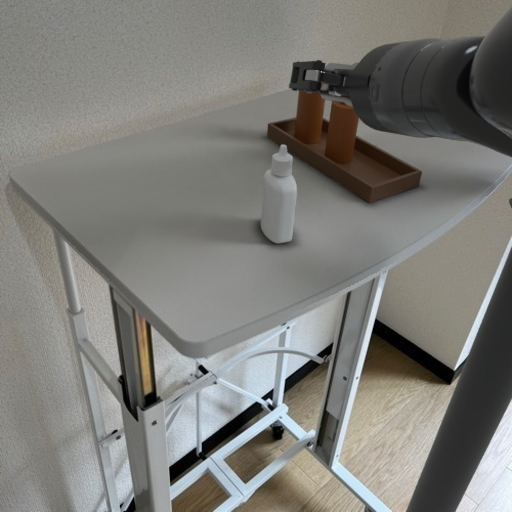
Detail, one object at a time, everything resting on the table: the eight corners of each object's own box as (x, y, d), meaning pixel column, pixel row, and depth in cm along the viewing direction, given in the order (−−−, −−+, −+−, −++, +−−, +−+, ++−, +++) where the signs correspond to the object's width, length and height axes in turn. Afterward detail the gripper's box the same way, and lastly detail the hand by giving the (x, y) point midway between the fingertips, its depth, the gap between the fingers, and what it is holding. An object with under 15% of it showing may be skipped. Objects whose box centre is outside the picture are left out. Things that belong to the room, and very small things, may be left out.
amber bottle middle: (339, 149, 90) (350, 76, 83) (357, 159, 88) (370, 85, 81) (318, 154, 88) (328, 80, 81) (336, 165, 85) (348, 89, 78)
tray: (313, 126, 99) (314, 112, 97) (418, 186, 83) (422, 171, 81) (266, 137, 94) (267, 123, 93) (369, 203, 78) (372, 187, 76)
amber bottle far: (309, 131, 96) (317, 61, 89) (325, 140, 93) (335, 69, 86) (288, 136, 94) (295, 65, 86) (304, 146, 91) (313, 73, 84)
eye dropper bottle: (294, 222, 72) (304, 137, 65) (290, 246, 68) (300, 158, 61) (261, 218, 73) (267, 134, 66) (255, 242, 68) (261, 154, 61)
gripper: (498, 58, 46) (403, 64, 61) (344, 22, 42) (282, 38, 57) (474, 147, 48) (387, 132, 63) (324, 121, 44) (270, 112, 59)
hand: (338, 87), depth 60 cm, fingers open, 8 cm apart
